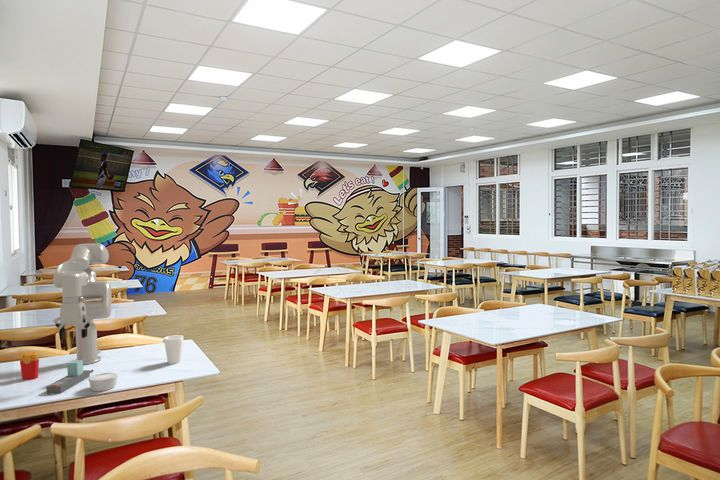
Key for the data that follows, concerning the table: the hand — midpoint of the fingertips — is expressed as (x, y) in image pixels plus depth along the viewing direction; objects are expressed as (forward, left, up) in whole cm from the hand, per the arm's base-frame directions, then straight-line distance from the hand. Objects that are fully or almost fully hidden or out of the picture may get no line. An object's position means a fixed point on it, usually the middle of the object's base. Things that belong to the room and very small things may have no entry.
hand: (73, 337), depth 217 cm
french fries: (-5, -24, -20) cm, 32 cm away
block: (0, 0, -19) cm, 19 cm away
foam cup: (-27, +35, -20) cm, 49 cm away
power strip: (+1, 0, -20) cm, 20 cm away
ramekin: (+10, +18, -20) cm, 29 cm away
